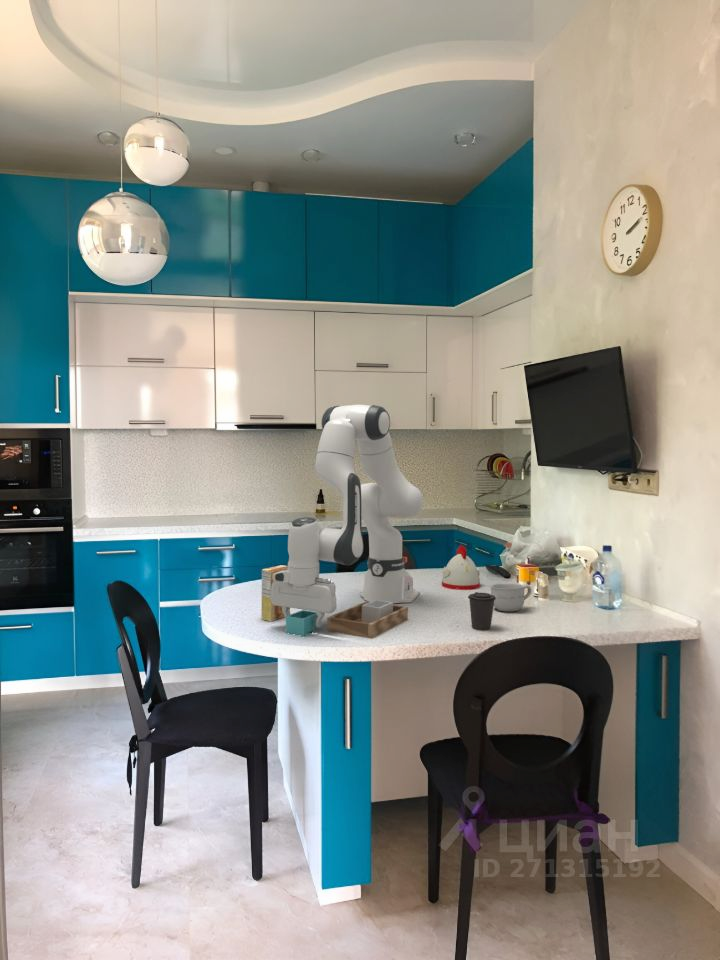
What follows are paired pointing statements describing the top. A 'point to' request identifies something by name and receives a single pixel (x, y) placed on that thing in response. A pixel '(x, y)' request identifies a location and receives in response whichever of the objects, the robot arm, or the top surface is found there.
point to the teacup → (509, 596)
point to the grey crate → (376, 610)
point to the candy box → (268, 609)
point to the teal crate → (301, 622)
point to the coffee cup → (481, 610)
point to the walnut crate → (353, 624)
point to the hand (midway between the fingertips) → (303, 624)
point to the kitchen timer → (461, 572)
